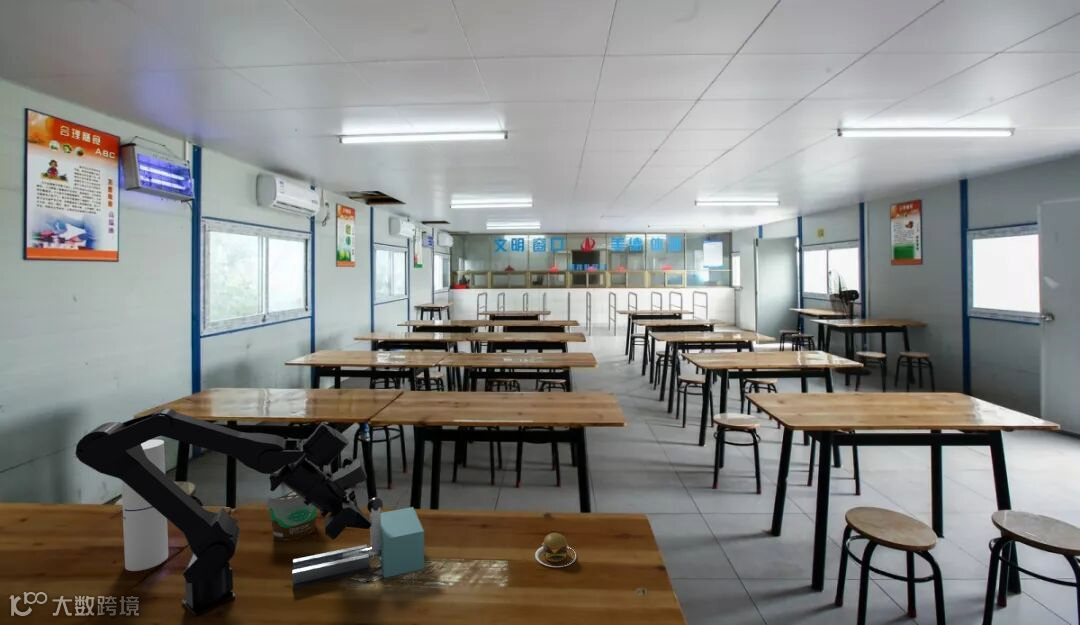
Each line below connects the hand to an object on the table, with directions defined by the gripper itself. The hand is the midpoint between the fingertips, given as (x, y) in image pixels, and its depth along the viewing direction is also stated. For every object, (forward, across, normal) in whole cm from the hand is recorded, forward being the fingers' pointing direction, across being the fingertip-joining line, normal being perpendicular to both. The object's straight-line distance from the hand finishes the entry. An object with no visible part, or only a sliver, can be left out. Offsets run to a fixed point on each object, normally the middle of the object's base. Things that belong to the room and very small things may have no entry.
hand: (369, 526), depth 103 cm
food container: (-4, +20, +16) cm, 26 cm away
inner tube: (+5, 0, +4) cm, 7 cm away
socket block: (+10, 0, +2) cm, 10 cm away
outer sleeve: (+1, 0, +10) cm, 10 cm away
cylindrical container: (-24, +21, +36) cm, 48 cm away
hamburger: (+32, -13, -20) cm, 40 cm away
